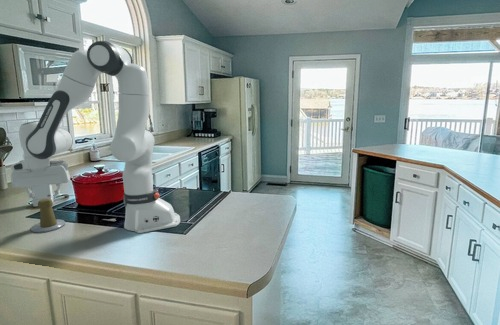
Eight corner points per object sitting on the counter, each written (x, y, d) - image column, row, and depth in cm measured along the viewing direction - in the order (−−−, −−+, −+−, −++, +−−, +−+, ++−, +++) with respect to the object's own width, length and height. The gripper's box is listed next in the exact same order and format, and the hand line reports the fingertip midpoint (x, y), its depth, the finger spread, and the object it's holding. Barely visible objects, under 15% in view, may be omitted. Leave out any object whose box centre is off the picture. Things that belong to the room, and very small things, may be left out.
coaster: (68, 219, 141) (68, 218, 141) (59, 230, 130) (59, 228, 130) (38, 223, 139) (37, 221, 138) (26, 234, 127) (25, 232, 127)
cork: (49, 228, 130) (44, 202, 128) (36, 227, 132) (32, 201, 130) (60, 222, 136) (56, 197, 134) (48, 221, 138) (44, 196, 135)
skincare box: (33, 207, 159) (28, 177, 156) (35, 203, 165) (31, 175, 162) (52, 204, 163) (48, 175, 159) (54, 201, 168) (50, 173, 165)
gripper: (69, 158, 134) (74, 190, 137) (13, 163, 129) (20, 196, 132) (64, 161, 128) (70, 194, 131) (5, 166, 123) (13, 201, 126)
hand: (44, 195), depth 131 cm, fingers open, 8 cm apart
